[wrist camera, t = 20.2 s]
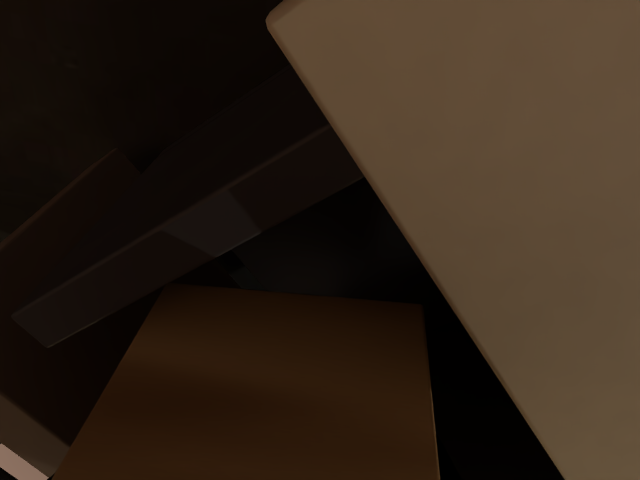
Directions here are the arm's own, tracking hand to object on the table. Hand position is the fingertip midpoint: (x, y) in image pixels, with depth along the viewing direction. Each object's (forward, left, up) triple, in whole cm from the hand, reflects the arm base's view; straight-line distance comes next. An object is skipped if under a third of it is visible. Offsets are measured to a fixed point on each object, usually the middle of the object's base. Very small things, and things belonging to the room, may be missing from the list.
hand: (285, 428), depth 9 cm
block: (0, 0, -1) cm, 1 cm away
